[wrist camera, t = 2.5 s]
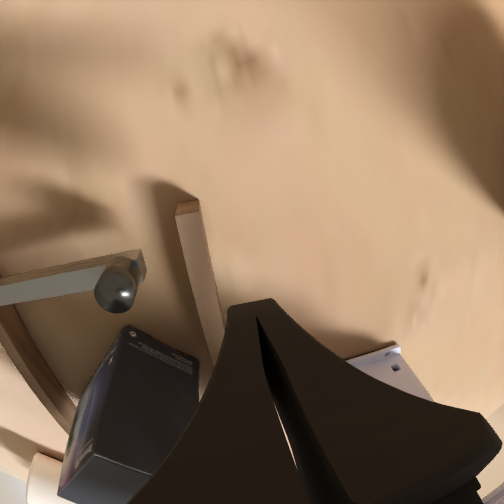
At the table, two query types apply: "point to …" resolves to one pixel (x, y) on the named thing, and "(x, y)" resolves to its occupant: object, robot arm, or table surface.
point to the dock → (206, 298)
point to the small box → (128, 419)
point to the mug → (44, 481)
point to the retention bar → (81, 281)
